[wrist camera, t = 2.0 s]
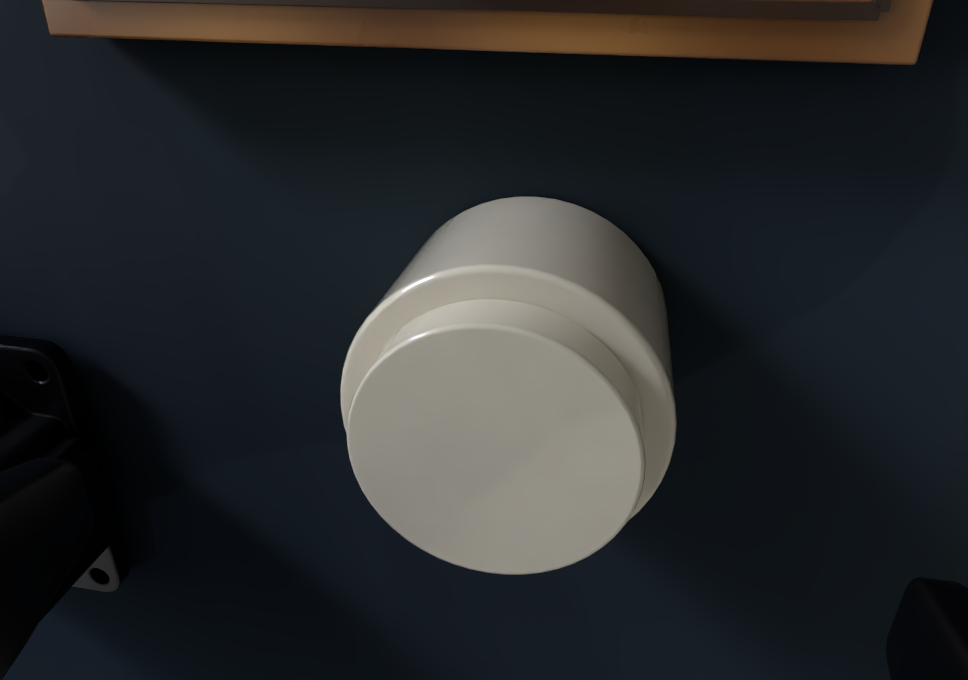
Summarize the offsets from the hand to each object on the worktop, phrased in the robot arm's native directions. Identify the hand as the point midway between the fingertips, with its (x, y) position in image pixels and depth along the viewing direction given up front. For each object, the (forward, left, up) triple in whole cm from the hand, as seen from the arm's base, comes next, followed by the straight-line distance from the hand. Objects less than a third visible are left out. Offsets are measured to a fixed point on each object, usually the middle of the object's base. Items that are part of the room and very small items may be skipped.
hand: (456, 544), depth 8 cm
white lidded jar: (0, 0, -6) cm, 6 cm away
